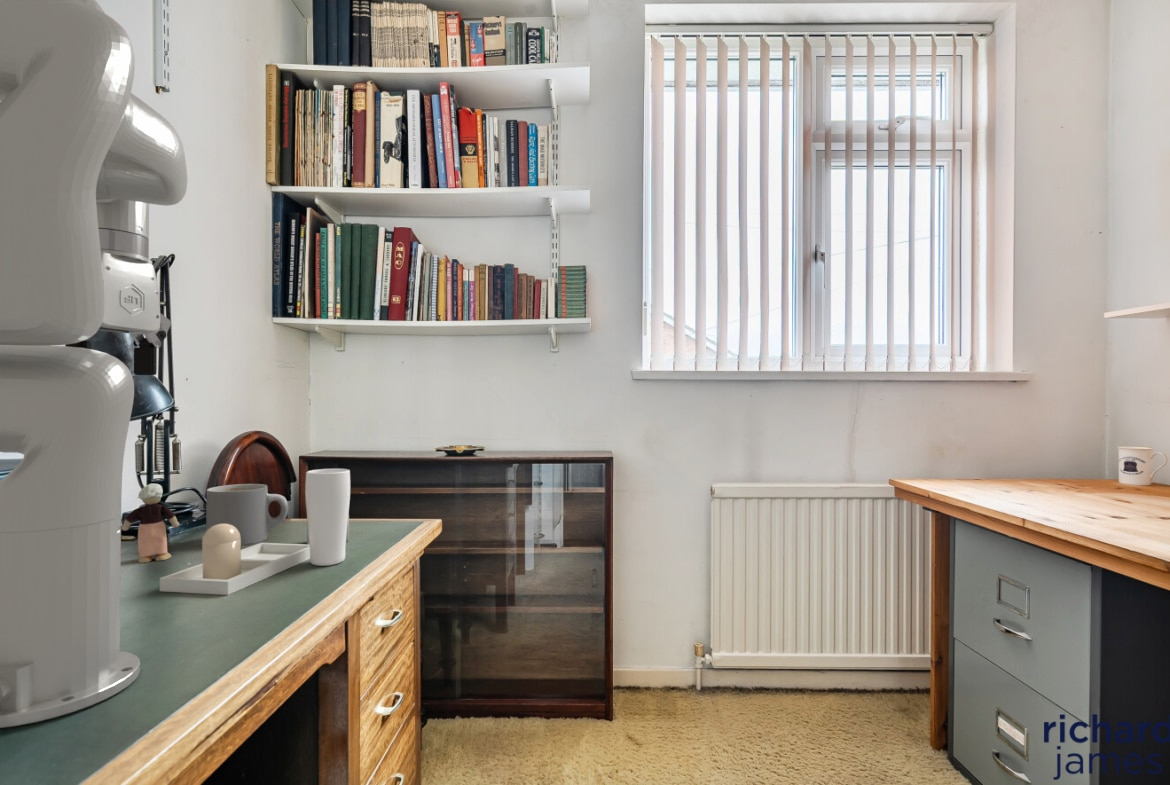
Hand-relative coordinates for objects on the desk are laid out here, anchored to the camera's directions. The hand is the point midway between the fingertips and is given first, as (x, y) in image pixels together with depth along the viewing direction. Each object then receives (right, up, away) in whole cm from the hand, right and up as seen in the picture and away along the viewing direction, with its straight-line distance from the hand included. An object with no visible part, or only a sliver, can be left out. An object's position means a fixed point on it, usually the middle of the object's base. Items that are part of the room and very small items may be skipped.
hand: (113, 373), depth 81 cm
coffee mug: (+1, -31, +31) cm, 44 cm away
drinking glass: (+23, -31, +16) cm, 41 cm away
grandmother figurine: (-8, -31, +17) cm, 36 cm away
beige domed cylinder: (+11, -30, +6) cm, 32 cm away
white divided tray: (+12, -30, +11) cm, 34 cm away
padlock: (+17, -31, +30) cm, 46 cm away
